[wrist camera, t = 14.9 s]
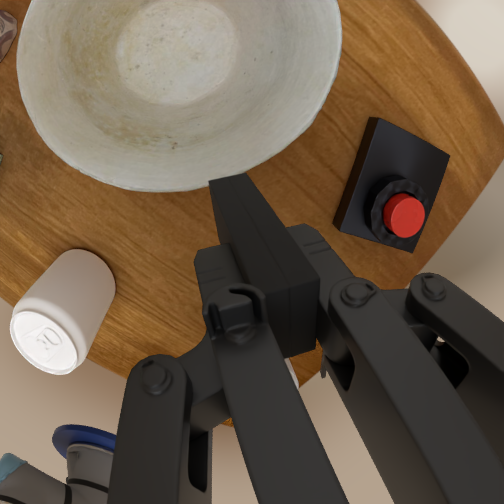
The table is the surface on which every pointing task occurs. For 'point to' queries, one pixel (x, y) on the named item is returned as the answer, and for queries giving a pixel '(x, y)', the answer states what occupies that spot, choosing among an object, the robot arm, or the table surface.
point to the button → (403, 215)
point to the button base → (389, 182)
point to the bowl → (175, 84)
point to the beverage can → (63, 312)
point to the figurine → (6, 32)
